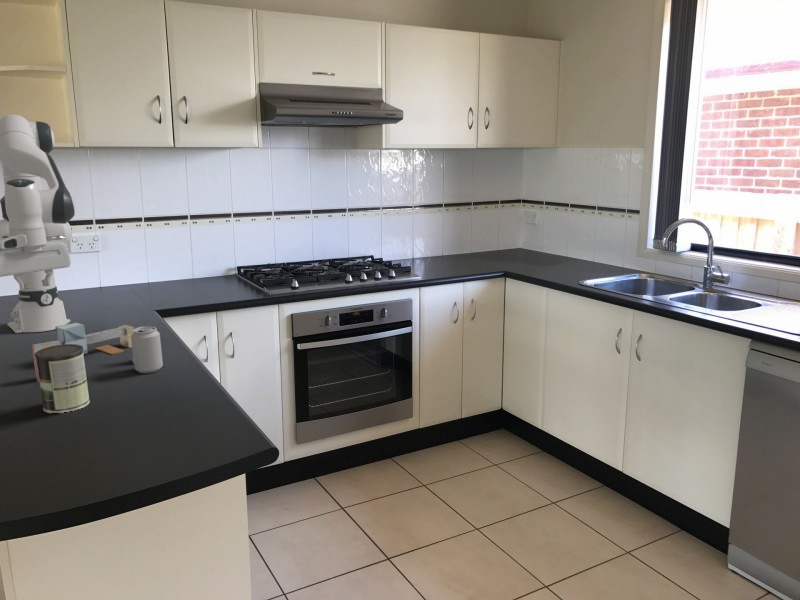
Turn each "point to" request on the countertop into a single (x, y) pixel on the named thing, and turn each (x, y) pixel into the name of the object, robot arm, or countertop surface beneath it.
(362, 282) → the countertop surface
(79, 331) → the light blue block
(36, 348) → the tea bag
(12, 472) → the countertop surface
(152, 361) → the can
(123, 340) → the rail
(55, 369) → the coffee can
